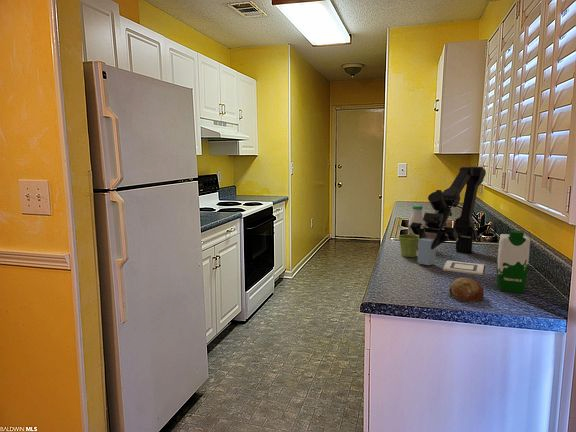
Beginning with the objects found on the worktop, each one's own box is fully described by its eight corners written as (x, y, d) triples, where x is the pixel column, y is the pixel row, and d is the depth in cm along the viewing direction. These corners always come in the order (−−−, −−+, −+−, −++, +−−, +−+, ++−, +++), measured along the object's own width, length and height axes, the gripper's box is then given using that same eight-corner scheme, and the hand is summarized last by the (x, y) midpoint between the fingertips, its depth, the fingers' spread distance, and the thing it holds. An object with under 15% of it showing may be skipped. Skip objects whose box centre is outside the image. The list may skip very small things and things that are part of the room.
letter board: (484, 265, 166) (484, 264, 166) (482, 275, 154) (482, 273, 154) (447, 261, 172) (447, 260, 172) (442, 270, 160) (442, 268, 160)
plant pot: (412, 259, 176) (412, 239, 175) (393, 255, 183) (394, 236, 182) (423, 256, 182) (424, 236, 181) (405, 252, 189) (406, 233, 188)
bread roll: (448, 302, 136) (439, 281, 135) (475, 288, 136) (467, 267, 135) (463, 313, 127) (453, 291, 125) (493, 299, 127) (484, 276, 125)
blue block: (423, 260, 171) (425, 237, 170) (435, 263, 168) (436, 239, 166) (417, 263, 168) (418, 239, 166) (428, 265, 164) (430, 240, 163)
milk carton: (497, 291, 136) (502, 232, 132) (493, 283, 144) (498, 227, 141) (528, 294, 133) (533, 233, 130) (522, 286, 141) (527, 228, 138)
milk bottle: (421, 244, 204) (424, 204, 201) (425, 248, 196) (427, 206, 193) (405, 244, 205) (407, 204, 201) (408, 248, 197) (410, 206, 194)
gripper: (413, 203, 173) (397, 232, 168) (456, 207, 160) (441, 239, 154) (422, 219, 180) (407, 248, 174) (464, 225, 166) (449, 256, 161)
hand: (425, 247), depth 166 cm, fingers closed on blue block, 5 cm apart
